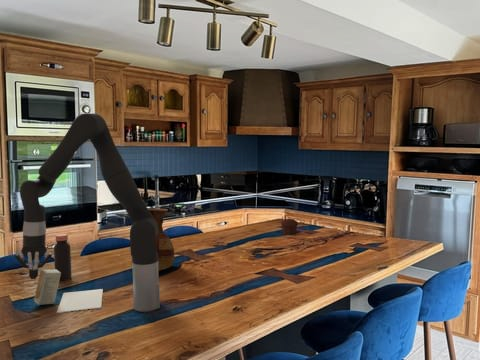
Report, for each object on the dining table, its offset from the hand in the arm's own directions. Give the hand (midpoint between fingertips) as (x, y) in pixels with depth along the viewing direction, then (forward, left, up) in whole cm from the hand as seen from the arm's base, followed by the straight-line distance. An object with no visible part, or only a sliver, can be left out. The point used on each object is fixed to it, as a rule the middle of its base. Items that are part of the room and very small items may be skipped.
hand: (33, 278), depth 152 cm
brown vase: (-46, -32, -11) cm, 57 cm away
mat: (-16, 0, -10) cm, 19 cm away
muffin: (-141, -84, -11) cm, 165 cm away
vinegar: (-6, -30, -11) cm, 33 cm away
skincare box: (-3, 0, -10) cm, 10 cm away
